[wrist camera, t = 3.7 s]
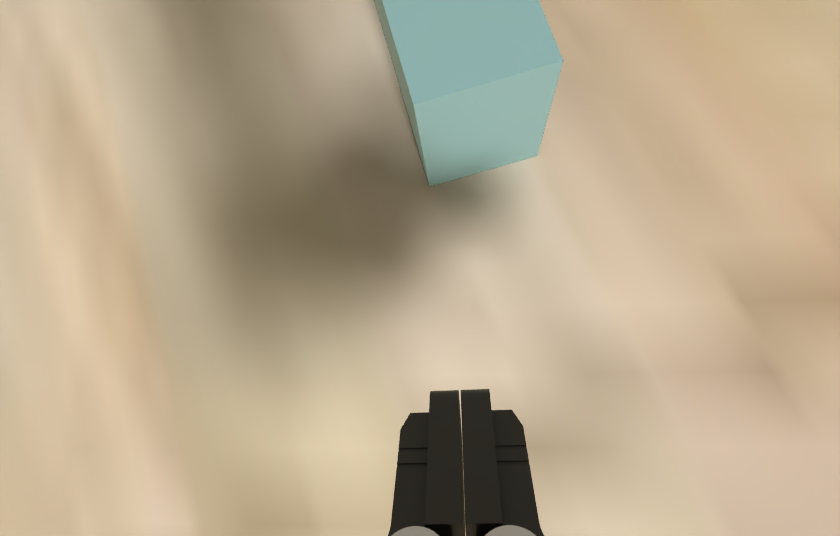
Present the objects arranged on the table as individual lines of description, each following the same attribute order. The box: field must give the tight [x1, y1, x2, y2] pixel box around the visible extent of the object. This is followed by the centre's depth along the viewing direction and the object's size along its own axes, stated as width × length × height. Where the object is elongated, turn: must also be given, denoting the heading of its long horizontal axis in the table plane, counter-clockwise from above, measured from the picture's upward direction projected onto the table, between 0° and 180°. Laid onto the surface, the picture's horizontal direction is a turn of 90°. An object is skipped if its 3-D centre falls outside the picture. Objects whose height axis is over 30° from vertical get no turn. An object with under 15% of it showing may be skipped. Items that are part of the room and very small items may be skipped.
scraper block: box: [374, 0, 563, 187], centre depth 25 cm, size 6×14×8 cm, turn 15°
